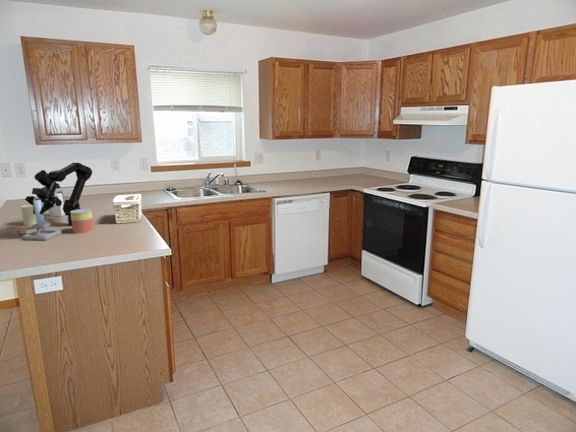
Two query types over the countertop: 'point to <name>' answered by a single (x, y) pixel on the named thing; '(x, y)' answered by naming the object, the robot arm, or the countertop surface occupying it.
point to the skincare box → (57, 207)
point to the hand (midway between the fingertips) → (37, 214)
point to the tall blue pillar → (39, 215)
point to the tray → (42, 235)
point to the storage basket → (127, 208)
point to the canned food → (82, 220)
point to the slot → (23, 230)
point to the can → (28, 215)
